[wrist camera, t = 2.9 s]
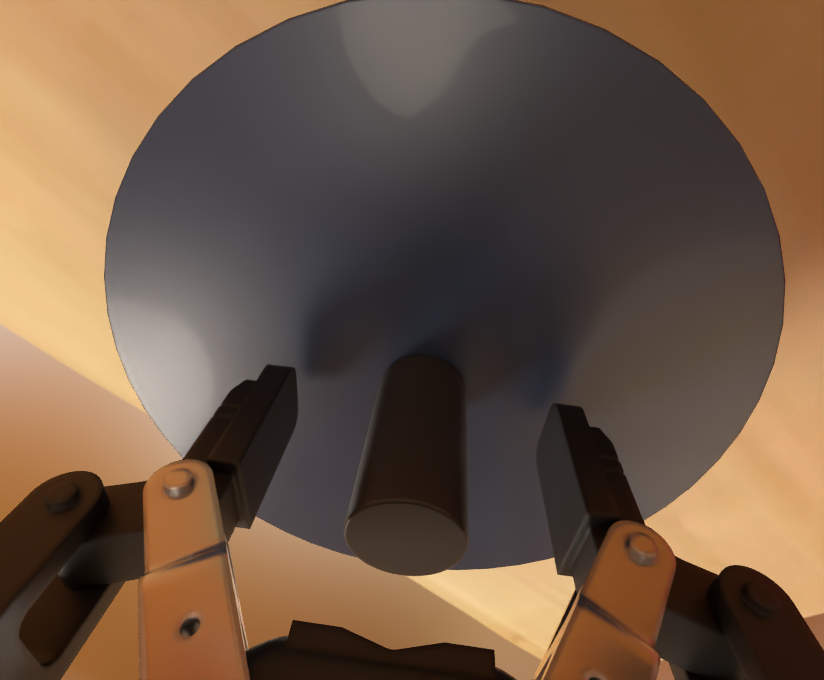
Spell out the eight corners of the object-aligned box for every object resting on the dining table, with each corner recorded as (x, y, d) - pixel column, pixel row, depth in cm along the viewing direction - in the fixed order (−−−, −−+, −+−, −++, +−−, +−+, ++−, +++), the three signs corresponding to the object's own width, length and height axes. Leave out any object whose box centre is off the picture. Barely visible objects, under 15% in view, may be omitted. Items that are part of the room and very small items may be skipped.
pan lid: (952, 51, 9) (1616, 40, 4) (619, 575, 19) (676, 761, 14) (26, -52, 9) (-491, -183, 4) (187, 513, 20) (92, 671, 15)
